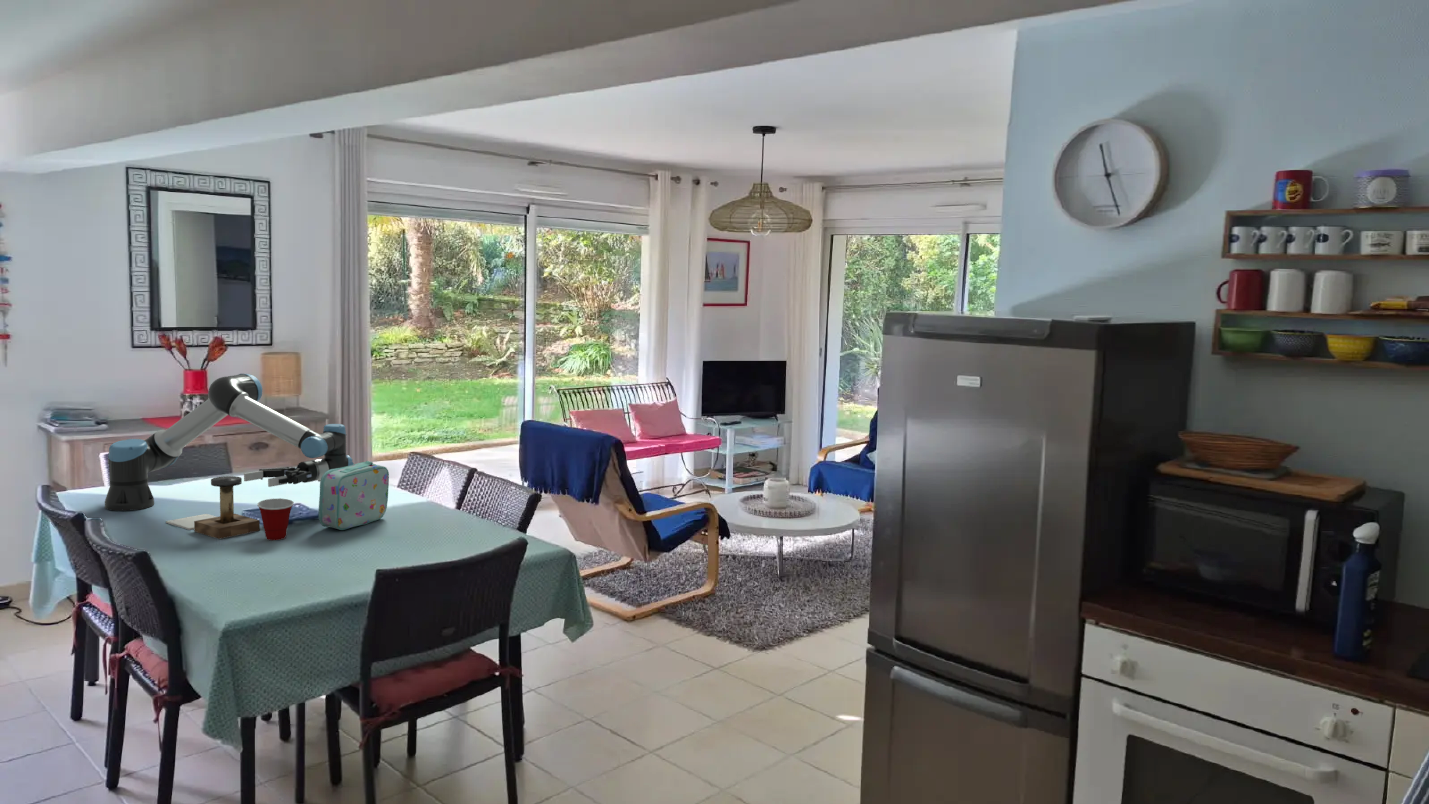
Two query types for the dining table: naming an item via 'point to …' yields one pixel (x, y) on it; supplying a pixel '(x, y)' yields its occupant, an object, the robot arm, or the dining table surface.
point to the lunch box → (353, 495)
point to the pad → (189, 521)
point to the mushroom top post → (226, 496)
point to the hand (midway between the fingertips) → (256, 480)
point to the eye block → (226, 526)
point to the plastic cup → (275, 517)
